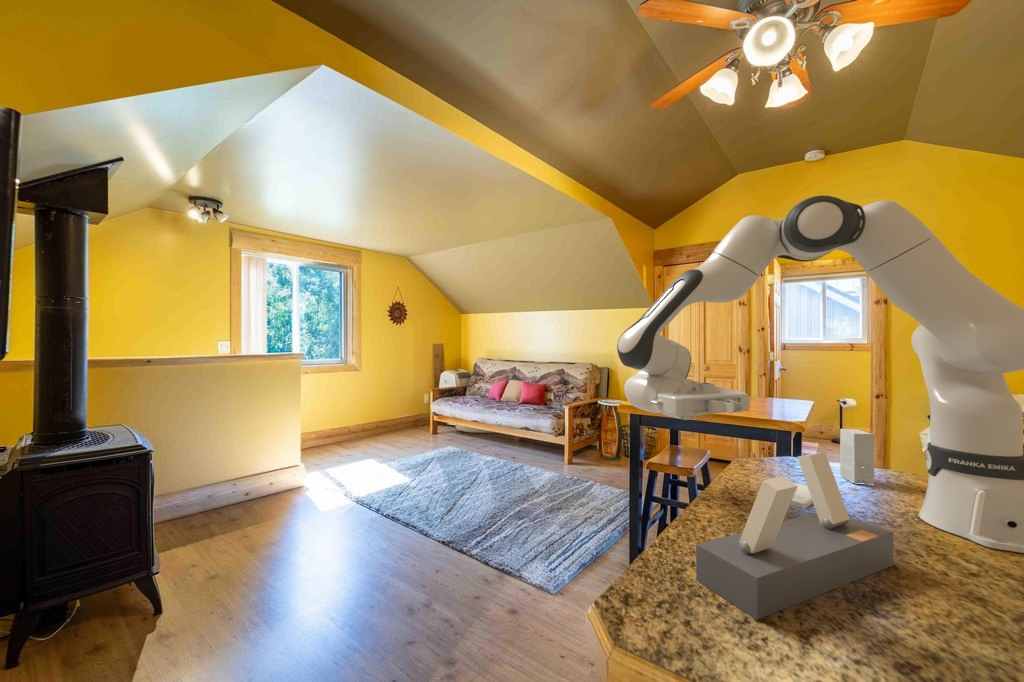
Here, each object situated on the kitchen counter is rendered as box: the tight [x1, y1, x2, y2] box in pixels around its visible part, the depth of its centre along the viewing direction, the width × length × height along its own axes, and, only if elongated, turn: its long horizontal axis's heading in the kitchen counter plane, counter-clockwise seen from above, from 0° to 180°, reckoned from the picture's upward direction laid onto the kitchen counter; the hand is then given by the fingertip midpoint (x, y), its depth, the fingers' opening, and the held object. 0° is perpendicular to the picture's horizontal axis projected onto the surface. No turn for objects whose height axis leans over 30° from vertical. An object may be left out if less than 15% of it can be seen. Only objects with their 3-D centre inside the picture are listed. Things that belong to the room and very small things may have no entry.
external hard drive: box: [790, 481, 814, 509], centre depth 90 cm, size 2×8×12 cm
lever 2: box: [797, 452, 850, 529], centre depth 65 cm, size 2×4×11 cm, turn 113°
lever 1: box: [739, 476, 798, 554], centre depth 55 cm, size 2×4×11 cm, turn 114°
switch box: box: [695, 512, 894, 620], centre depth 60 cm, size 9×30×5 cm, turn 114°
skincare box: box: [839, 428, 875, 485], centre depth 99 cm, size 6×4×12 cm
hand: (738, 408), depth 78 cm, fingers closed
